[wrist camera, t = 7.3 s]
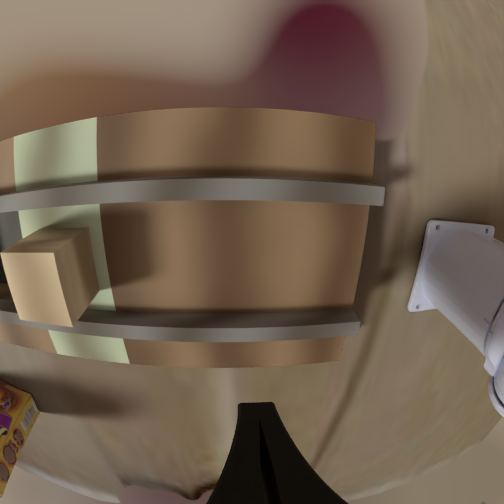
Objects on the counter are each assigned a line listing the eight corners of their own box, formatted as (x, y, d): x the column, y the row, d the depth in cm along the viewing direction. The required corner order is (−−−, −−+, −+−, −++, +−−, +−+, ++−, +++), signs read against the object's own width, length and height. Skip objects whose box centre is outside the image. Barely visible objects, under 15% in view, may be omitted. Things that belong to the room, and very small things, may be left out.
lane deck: (354, 124, 16) (389, 120, 12) (327, 336, 22) (345, 374, 18) (-37, 159, 14) (-70, 167, 9) (-4, 319, 19) (-26, 343, 15)
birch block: (89, 227, 14) (53, 252, 11) (99, 290, 16) (73, 327, 12) (38, 229, 14) (0, 252, 10) (50, 287, 15) (20, 319, 12)
